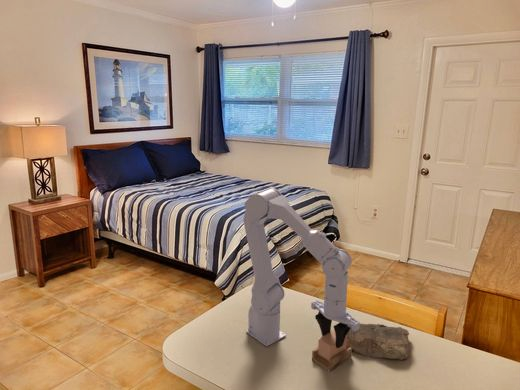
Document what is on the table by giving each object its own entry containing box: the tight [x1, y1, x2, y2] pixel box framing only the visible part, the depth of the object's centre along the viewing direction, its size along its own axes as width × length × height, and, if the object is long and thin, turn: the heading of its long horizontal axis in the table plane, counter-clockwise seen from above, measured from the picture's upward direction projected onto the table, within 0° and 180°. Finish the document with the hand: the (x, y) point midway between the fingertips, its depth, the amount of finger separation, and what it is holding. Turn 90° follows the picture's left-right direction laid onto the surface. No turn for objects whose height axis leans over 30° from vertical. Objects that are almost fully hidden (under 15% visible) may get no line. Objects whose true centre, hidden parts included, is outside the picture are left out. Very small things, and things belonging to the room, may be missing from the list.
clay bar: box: [317, 329, 347, 361], centre depth 102 cm, size 7×4×4 cm, turn 130°
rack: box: [311, 347, 353, 372], centre depth 103 cm, size 9×6×3 cm
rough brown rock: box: [346, 323, 410, 361], centre depth 110 cm, size 14×5×20 cm
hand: (332, 342), depth 102 cm, fingers closed on clay bar, 4 cm apart
